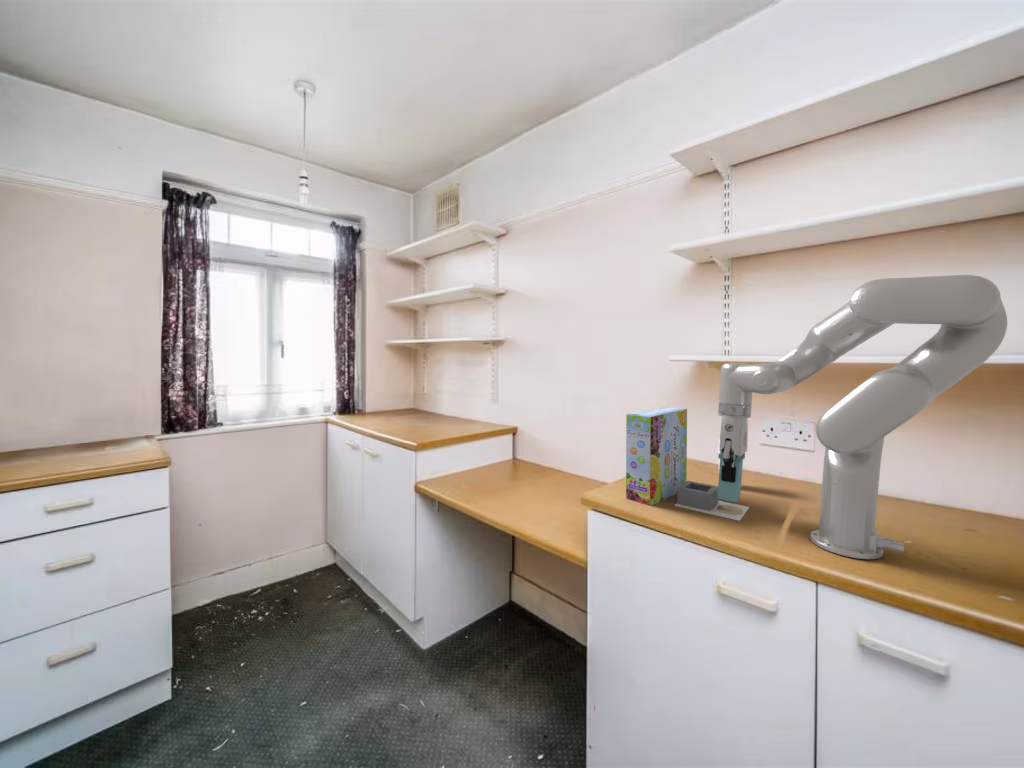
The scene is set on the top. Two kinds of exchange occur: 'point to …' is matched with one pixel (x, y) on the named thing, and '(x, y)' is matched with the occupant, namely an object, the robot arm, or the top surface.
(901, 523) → the top surface
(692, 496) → the board
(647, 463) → the snack box
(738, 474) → the plug
